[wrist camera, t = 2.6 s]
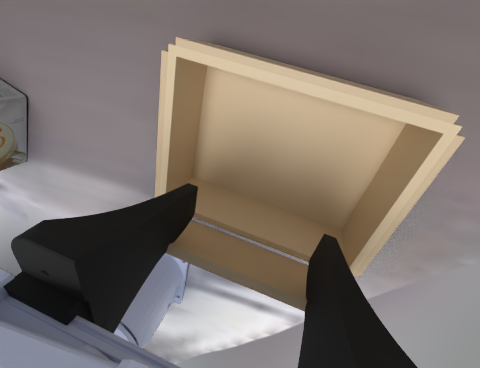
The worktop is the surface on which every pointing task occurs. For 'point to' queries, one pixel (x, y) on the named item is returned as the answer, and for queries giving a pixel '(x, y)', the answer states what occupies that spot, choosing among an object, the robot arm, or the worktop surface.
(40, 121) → the worktop surface
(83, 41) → the worktop surface
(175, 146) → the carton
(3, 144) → the coffee box
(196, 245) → the lid flap
